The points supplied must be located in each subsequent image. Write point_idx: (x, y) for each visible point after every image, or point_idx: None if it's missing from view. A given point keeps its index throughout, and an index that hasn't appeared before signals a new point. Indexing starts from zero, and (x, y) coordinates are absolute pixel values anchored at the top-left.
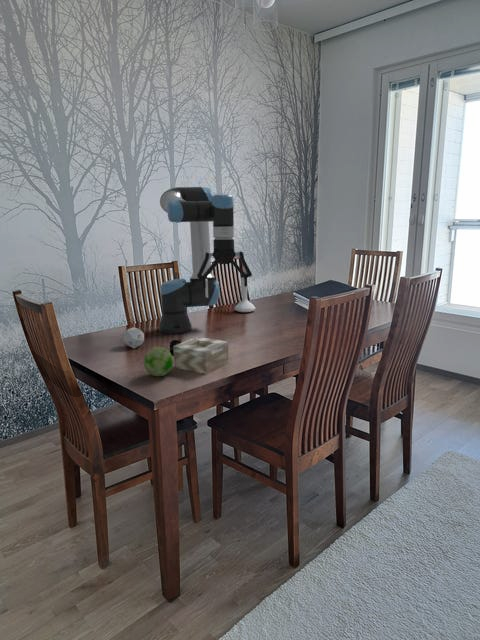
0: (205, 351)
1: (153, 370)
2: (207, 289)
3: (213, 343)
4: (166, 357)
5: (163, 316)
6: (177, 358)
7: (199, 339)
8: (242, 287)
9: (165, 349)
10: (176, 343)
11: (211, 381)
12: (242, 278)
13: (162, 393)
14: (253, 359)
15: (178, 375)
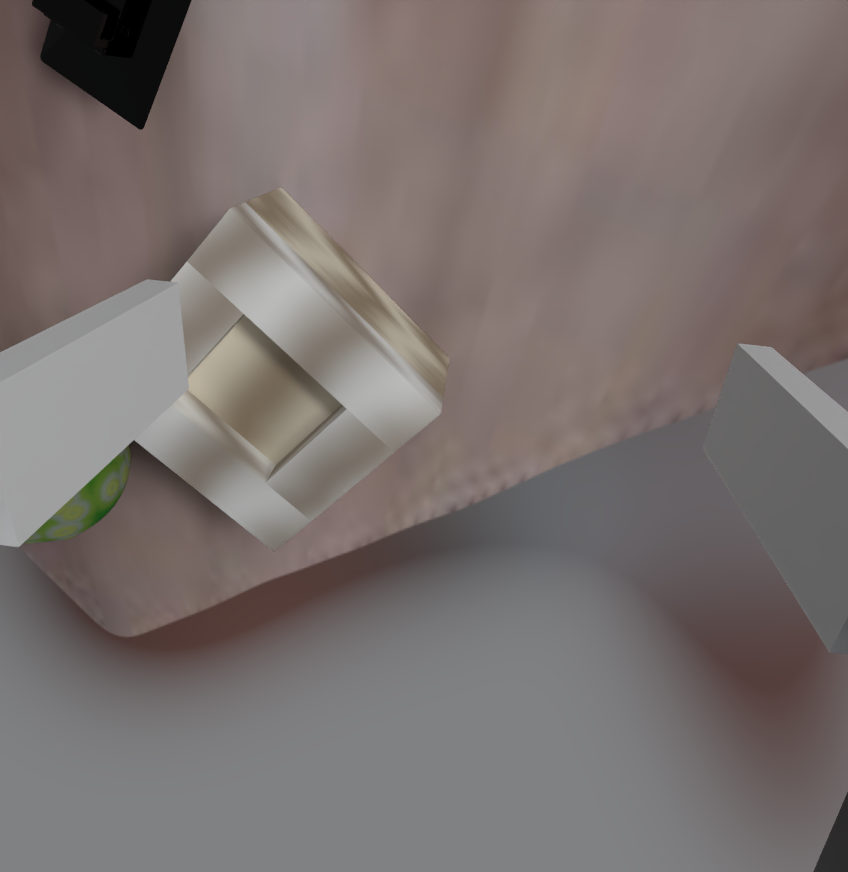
0: (274, 542)
1: None
2: (120, 444)
3: (337, 418)
4: (74, 534)
5: None
6: None
7: (247, 295)
8: (750, 525)
9: None
10: (92, 44)
11: (322, 557)
12: (843, 641)
13: (133, 600)
14: (610, 346)
15: None
